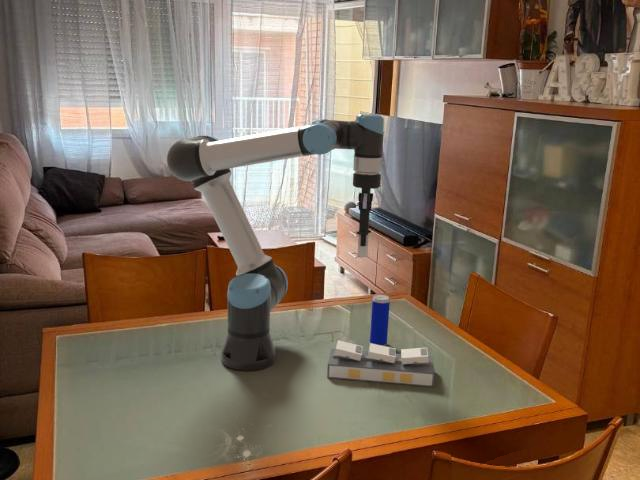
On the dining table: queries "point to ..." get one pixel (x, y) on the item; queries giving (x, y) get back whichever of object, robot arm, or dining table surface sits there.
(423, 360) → the rocker
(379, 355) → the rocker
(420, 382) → the switch console
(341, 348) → the plate
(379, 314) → the beverage can
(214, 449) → the dining table surface
